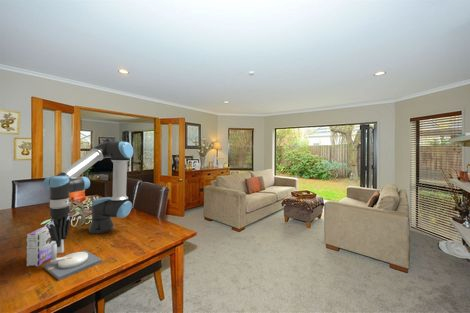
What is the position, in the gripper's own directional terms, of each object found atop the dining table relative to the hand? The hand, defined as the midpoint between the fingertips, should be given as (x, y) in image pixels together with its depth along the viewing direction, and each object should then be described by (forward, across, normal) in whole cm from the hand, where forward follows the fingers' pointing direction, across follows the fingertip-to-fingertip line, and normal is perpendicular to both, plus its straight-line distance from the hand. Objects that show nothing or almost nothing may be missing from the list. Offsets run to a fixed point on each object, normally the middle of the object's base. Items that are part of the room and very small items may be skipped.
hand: (60, 252), depth 105 cm
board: (+6, -1, -8) cm, 10 cm away
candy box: (+6, +3, +12) cm, 14 cm away
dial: (+4, -1, -6) cm, 8 cm away
